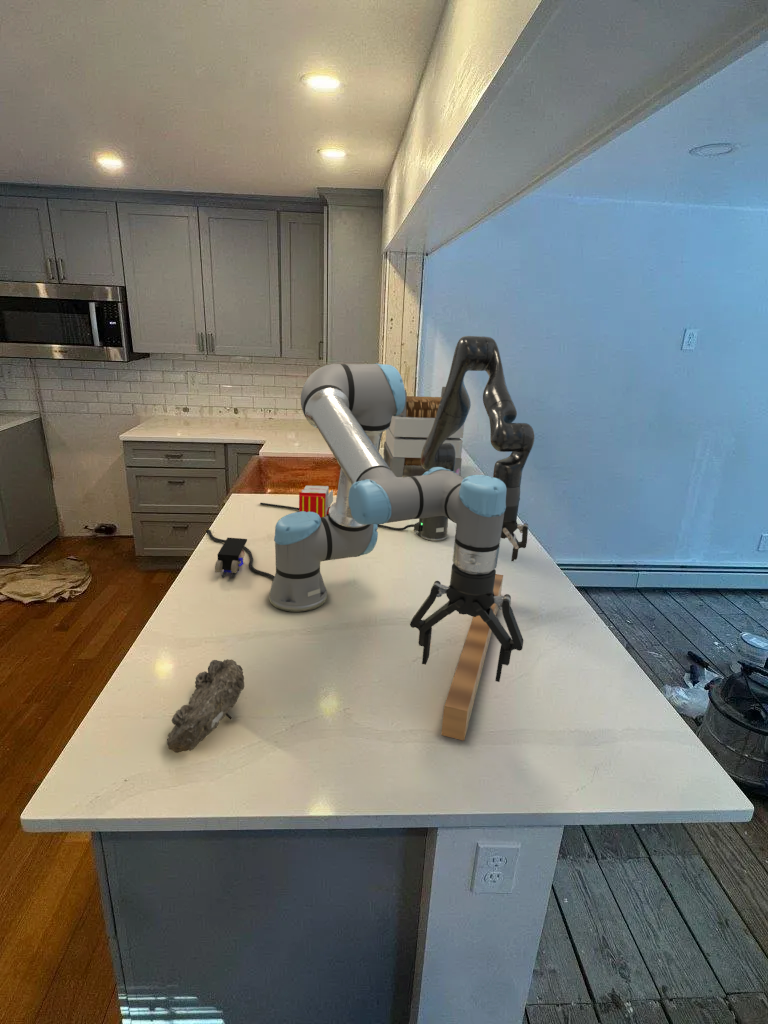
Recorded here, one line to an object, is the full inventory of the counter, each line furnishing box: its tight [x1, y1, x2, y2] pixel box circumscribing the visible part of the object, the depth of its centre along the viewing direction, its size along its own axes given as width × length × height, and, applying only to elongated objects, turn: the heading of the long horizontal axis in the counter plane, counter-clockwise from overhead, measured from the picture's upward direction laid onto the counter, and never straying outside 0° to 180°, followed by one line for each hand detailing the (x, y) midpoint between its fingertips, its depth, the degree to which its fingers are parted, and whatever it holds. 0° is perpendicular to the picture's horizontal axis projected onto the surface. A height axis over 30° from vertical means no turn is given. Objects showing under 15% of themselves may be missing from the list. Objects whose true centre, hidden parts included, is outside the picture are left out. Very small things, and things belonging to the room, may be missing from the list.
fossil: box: [166, 658, 245, 754], centre depth 106 cm, size 22×10×15 cm
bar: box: [440, 573, 504, 742], centre depth 131 cm, size 60×4×7 cm, turn 163°
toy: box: [298, 485, 334, 517], centre depth 210 cm, size 12×13×30 cm
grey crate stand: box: [383, 386, 465, 477], centre depth 268 cm, size 34×33×41 cm
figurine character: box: [214, 537, 248, 578], centre depth 166 cm, size 7×8×15 cm
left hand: (461, 668), depth 105 cm, fingers open, 13 cm apart
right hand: (496, 557), depth 151 cm, fingers open, 8 cm apart
